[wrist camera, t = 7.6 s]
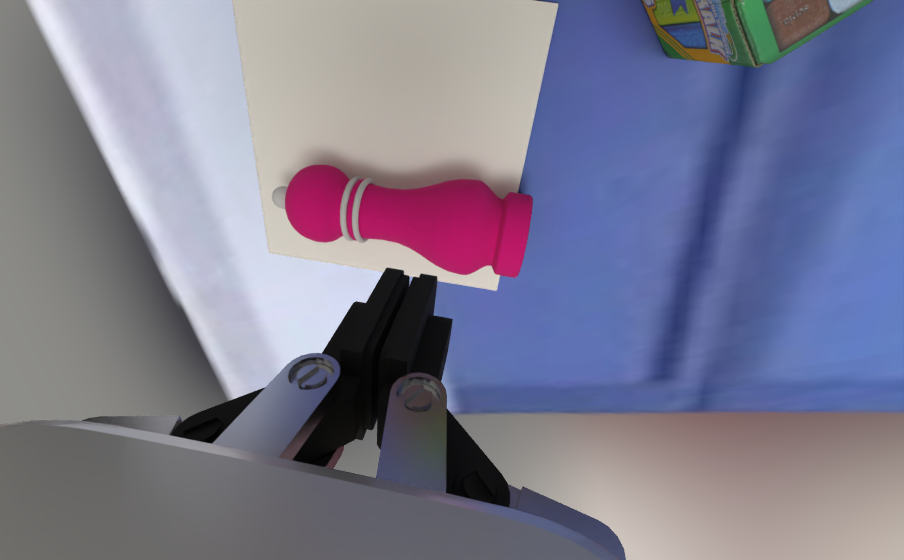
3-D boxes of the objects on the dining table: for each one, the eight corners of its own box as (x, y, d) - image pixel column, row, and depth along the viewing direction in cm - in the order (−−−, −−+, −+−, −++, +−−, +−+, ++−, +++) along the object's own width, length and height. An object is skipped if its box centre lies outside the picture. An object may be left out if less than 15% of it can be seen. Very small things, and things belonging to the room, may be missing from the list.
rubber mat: (230, -40, 26) (226, -42, 25) (557, 4, 25) (558, 3, 25) (271, 250, 37) (269, 252, 37) (496, 287, 36) (496, 290, 36)
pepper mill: (524, 209, 33) (303, 174, 35) (539, 171, 26) (261, 129, 28) (511, 291, 32) (283, 250, 34) (523, 274, 25) (233, 224, 27)
